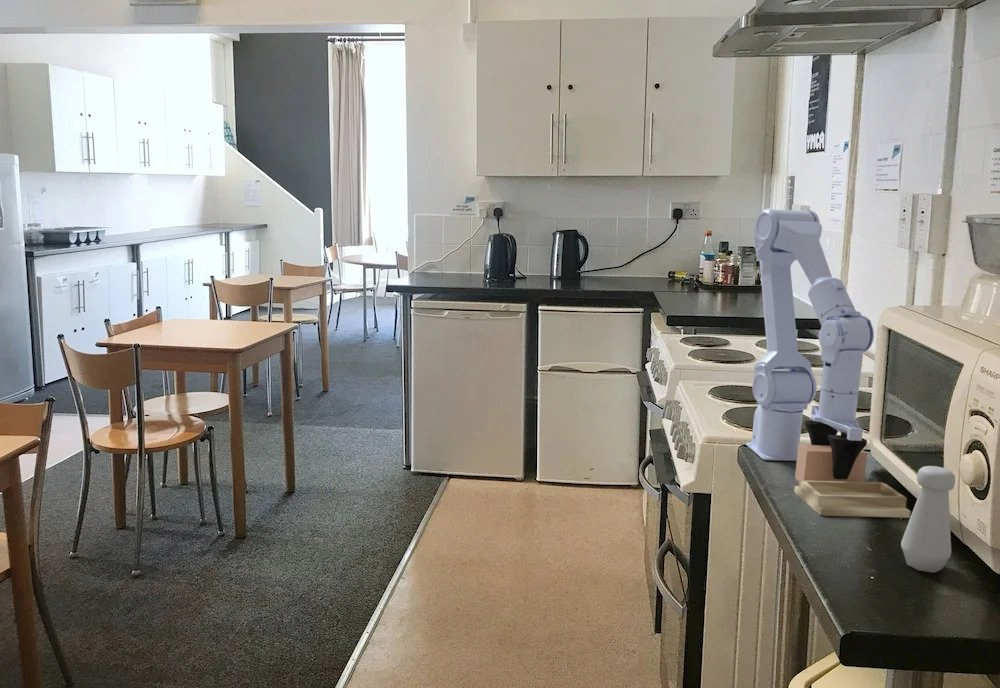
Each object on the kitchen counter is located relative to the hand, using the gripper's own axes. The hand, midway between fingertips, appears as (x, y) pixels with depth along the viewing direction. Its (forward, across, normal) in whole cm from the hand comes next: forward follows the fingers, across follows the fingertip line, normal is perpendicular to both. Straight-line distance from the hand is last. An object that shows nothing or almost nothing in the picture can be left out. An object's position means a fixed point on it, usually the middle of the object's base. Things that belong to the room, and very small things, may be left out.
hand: (830, 471), depth 144 cm
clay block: (+2, 0, 0) cm, 2 cm away
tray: (+2, +10, -1) cm, 10 cm away
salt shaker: (+2, +32, -2) cm, 32 cm away
